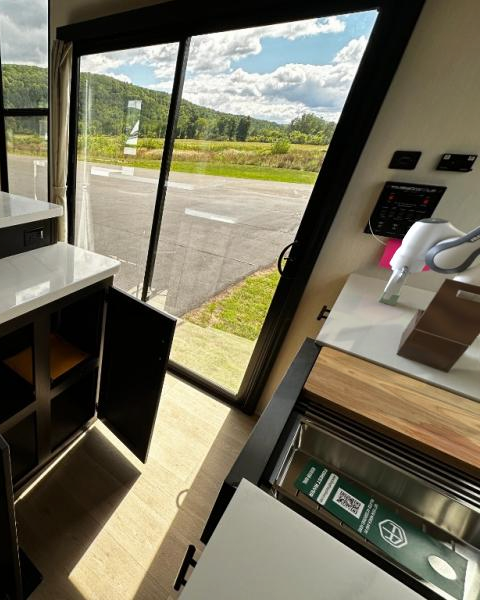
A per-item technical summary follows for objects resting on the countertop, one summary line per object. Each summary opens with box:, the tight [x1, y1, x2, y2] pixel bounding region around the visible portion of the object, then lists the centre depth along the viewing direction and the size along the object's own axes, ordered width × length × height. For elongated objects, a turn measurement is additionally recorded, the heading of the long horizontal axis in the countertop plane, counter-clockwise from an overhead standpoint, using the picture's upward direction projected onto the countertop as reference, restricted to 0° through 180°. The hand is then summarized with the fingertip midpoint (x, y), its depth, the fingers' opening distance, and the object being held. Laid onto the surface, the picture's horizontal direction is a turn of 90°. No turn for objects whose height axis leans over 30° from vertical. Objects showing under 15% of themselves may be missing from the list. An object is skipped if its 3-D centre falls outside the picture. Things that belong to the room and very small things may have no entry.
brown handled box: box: [414, 278, 480, 347], centre depth 84 cm, size 16×11×5 cm
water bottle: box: [452, 261, 480, 286], centre depth 101 cm, size 9×6×25 cm
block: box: [378, 290, 402, 307], centre depth 121 cm, size 4×4×4 cm
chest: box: [396, 308, 470, 374], centre depth 96 cm, size 15×11×10 cm
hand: (387, 294), depth 122 cm, fingers open, 6 cm apart
